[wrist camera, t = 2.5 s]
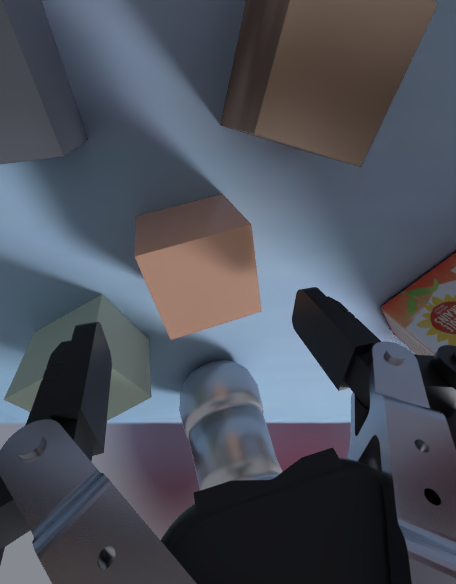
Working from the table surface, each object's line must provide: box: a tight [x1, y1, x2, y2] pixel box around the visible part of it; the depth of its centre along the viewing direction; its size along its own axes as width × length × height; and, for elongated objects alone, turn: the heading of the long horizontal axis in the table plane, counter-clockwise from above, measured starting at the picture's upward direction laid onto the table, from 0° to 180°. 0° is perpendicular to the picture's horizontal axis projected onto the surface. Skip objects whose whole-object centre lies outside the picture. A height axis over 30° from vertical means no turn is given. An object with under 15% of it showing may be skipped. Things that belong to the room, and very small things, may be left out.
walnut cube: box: [220, 0, 438, 167], centre depth 11 cm, size 5×5×5 cm
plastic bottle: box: [179, 360, 282, 490], centre depth 16 cm, size 6×7×20 cm
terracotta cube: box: [135, 194, 261, 340], centre depth 14 cm, size 5×5×5 cm
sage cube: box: [4, 294, 151, 420], centre depth 16 cm, size 5×5×5 cm
